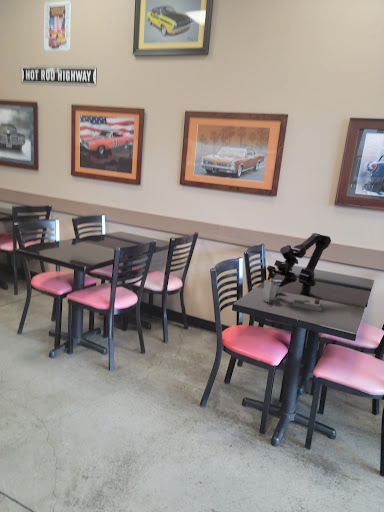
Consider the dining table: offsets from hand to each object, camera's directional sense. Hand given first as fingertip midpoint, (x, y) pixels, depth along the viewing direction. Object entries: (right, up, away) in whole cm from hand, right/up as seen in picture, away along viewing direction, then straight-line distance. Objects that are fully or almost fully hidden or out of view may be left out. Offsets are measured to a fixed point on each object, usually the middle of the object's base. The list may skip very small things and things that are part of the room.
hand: (273, 284), depth 213 cm
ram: (+19, -12, -8) cm, 24 cm away
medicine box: (+4, -7, +15) cm, 17 cm away
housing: (-3, -10, +1) cm, 10 cm away
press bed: (+14, -11, -1) cm, 18 cm away
